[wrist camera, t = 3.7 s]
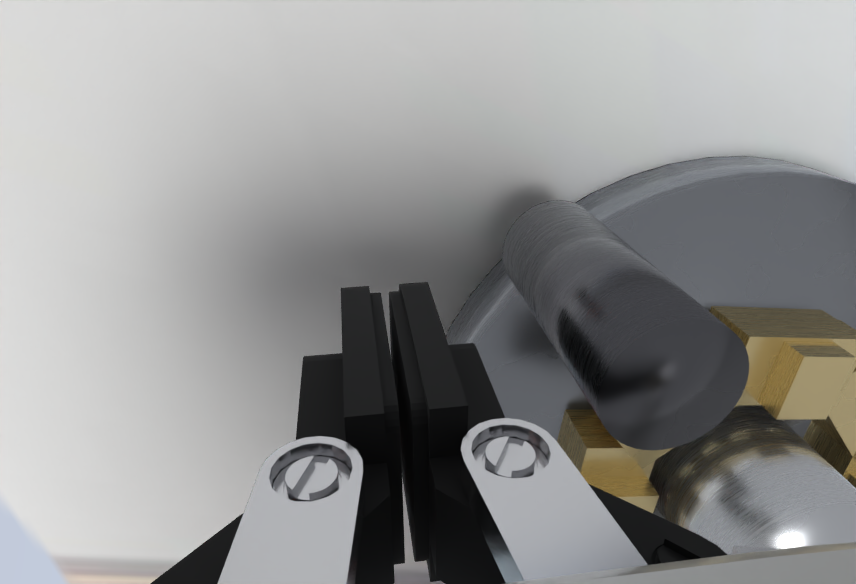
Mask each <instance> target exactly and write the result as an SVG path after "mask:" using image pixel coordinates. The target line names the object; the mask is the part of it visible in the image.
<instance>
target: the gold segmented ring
mask: <svg viewBox="0 0 856 584" xmlns="http://www.w3.org/2000/svg"><path fill="white" fill-rule="evenodd" d="M503 263H504V267H505V270H506V272H507V274H508V276H509V277H510V279H511V280H512V282H513V284H514V285H515V287H516V288H517V290H518V291H519V293H520V295H521V296H522V298H523V299H524V301H525V302H526V304H527V306H528V307H529V309H530V310H531V312H532V313H533V315H534V317H535V318H536V320H537V321H538V323H539V324H540V326H541V328H542V329H543V331H544V332H545V334H546V336H547V337H548V339H549V340H550V342H551V343H552V345H553V347H554V348H555V350H556V351H557V353H558V354H559V356H560V358H561V359H562V361H563V362H564V364H565V365H566V367H567V369H568V370H569V372H570V373H571V375H572V376H573V378H574V380H575V381H576V383H577V384H578V386H579V388H580V389H581V391H582V392H583V394H584V395H585V397H586V399H587V400H588V402H589V403H590V405H591V406H592V408H593V409H565V412H564V416H563V420H562V424H561V428H560V432H559V436H558V440H557V442H558V444H559V445H560V447H561V448H562V449H563V451H564V452H565V453H566V455H567V456H568V457H569V459H570V460H571V461H572V463H573V464H574V465H575V467H576V468H577V469H578V471H579V472H580V474H581V475H582V476H583V478H584V479H585V480H586V482H587V483H588V484H590V485H592V486H594V487H597V488H599V489H601V490H603V491H605V492H607V493H610V494H612V495H614V496H616V497H618V498H620V499H623V500H625V501H627V502H629V503H631V504H633V505H636V506H638V507H640V508H642V509H644V510H646V511H648V512H651V513H653V512H654V509H655V506H656V504H657V501H658V498H659V495H658V493H657V492H656V490H655V489H654V487H653V485H652V484H651V482H650V481H649V477H650V474H651V471H652V468H653V466H654V463H655V460H656V459H658V458H659V457H661V456H662V455H664V454H665V453H667V452H668V451H670V450H671V449H673V448H674V447H678V446H681V445H684V444H686V443H689V442H691V441H693V440H695V439H697V438H699V437H701V436H703V435H704V434H706V433H708V432H709V431H710V430H712V429H713V428H714V427H716V426H717V425H718V424H719V423H720V422H721V421H723V420H724V419H725V417H726V416H727V415H728V414H729V413H730V412H731V411H732V409H733V408H735V407H736V406H738V405H762V406H763V407H764V408H765V409H766V410H767V411H768V412H769V413H770V414H771V415H772V416H773V417H774V418H775V419H776V420H787V419H811V423H810V425H809V427H808V429H807V431H806V433H805V435H804V437H803V439H804V440H805V441H806V442H807V443H808V444H809V445H810V446H811V447H812V448H813V449H814V450H815V451H816V452H818V453H819V454H820V455H821V456H822V457H823V458H824V459H825V460H826V461H827V462H828V463H829V464H830V465H831V466H833V467H834V468H835V469H836V470H837V471H838V472H839V473H840V474H841V475H842V476H843V477H844V478H845V479H846V480H848V481H849V482H850V483H851V484H852V485H853V486H854V487H855V488H856V330H855V329H854V328H852V327H850V326H849V325H847V324H846V323H844V322H843V321H841V320H837V319H836V318H834V317H833V316H831V315H829V314H828V313H826V312H825V311H823V310H819V309H789V308H759V307H730V306H711V309H710V312H709V311H708V310H707V309H706V308H704V307H703V306H702V305H701V304H700V303H698V302H697V301H696V300H695V299H693V298H692V297H691V296H690V295H689V294H687V293H686V292H685V291H684V290H683V289H681V288H680V287H679V286H678V285H677V284H675V283H674V282H673V281H672V280H671V279H669V278H668V277H667V276H666V275H664V274H663V273H662V272H661V271H660V270H658V269H657V268H656V267H655V266H654V265H652V264H651V263H650V262H649V261H648V260H646V259H645V258H644V257H643V256H642V255H640V254H639V253H638V252H637V251H635V250H634V249H633V248H632V247H631V246H629V245H628V244H627V243H626V242H625V241H623V240H622V239H621V238H620V237H619V236H617V235H616V234H615V233H614V232H613V231H611V230H610V229H609V228H608V227H606V226H605V225H604V224H603V223H602V222H600V221H599V220H598V219H597V218H596V217H594V216H593V215H592V214H591V213H590V212H588V211H587V210H586V209H585V208H583V207H582V206H580V205H578V204H576V203H573V202H569V201H562V200H555V201H548V202H544V203H541V204H539V205H536V206H534V207H532V208H530V209H529V210H527V211H526V212H525V213H523V214H522V215H521V216H520V217H519V218H518V219H517V220H516V221H515V222H514V224H513V225H512V227H511V228H510V230H509V232H508V234H507V236H506V239H505V242H504V246H503Z"/></svg>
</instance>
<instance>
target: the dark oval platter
mask: <svg viewBox="0 0 856 584" xmlns="http://www.w3.org/2000/svg"><path fill="white" fill-rule="evenodd" d="M576 204H578V205H580V206H582V207H583V208H585V209H586V210H587V211H588V212H590V213H591V214H592V215H593V216H594V217H596V218H597V219H598V220H599V221H600V222H602V223H603V224H604V225H605V226H606V227H608V228H609V229H610V230H611V231H613V232H614V233H615V234H616V235H617V236H619V237H620V238H621V239H622V240H623V241H625V242H626V243H627V244H628V245H629V246H631V247H632V248H633V249H634V250H635V251H637V252H638V253H639V254H640V255H642V256H643V257H644V258H645V259H646V260H648V261H649V262H650V263H651V264H652V265H654V266H655V267H656V268H657V269H658V270H660V271H661V272H662V273H663V274H664V275H666V276H667V277H668V278H669V279H671V280H672V281H673V282H674V283H675V284H677V285H678V286H679V287H680V288H681V289H683V290H684V291H685V292H686V293H687V294H689V295H690V296H691V297H692V298H693V299H695V300H696V301H697V302H698V303H700V304H701V305H702V306H703V307H704V308H706V309H707V310H708V311H709V312H710V309H711V306H730V307H759V308H789V309H819V310H823V311H825V312H826V313H828V314H829V315H831V316H833V317H834V318H836V319H837V320H841V321H843V322H844V323H846V324H847V325H849V326H850V327H852V328H854V329H855V330H856V184H855V183H852V182H849V181H846V180H844V179H841V178H838V177H835V176H832V175H829V174H826V173H823V172H821V171H818V170H815V169H812V168H808V167H804V166H801V165H797V164H794V163H790V162H786V161H783V160H776V159H767V158H757V157H748V156H739V157H712V158H703V159H698V160H692V161H686V162H680V163H675V164H669V165H666V166H663V167H659V168H656V169H653V170H650V171H646V172H643V173H640V174H636V175H633V176H630V177H628V178H626V179H623V180H621V181H619V182H617V183H614V184H612V185H610V186H607V187H605V188H603V189H601V190H598V191H596V192H594V193H592V194H590V195H588V196H587V197H585V198H583V199H582V200H580V201H578V202H577V203H576ZM446 339H447V342H448V345H452V344H465V343H474V344H475V346H476V348H477V350H478V352H479V355H480V357H481V360H482V362H483V365H484V367H485V369H486V372H487V374H488V377H489V379H490V382H491V384H492V387H493V389H494V391H495V394H496V396H497V399H498V401H499V404H500V406H501V408H502V411H503V413H504V416H505V418H510V419H519V420H523V421H526V422H530V423H533V424H535V425H537V426H539V427H540V428H542V429H544V430H546V431H547V432H548V433H549V434H550V435H551V436H552V437H553V438H554V439H555V440H556V441H557V440H558V436H559V432H560V428H561V424H562V420H563V416H564V412H565V409H593V408H592V406H591V405H590V403H589V402H588V400H587V399H586V397H585V395H584V394H583V392H582V391H581V389H580V388H579V386H578V384H577V383H576V381H575V380H574V378H573V376H572V375H571V373H570V372H569V370H568V369H567V367H566V365H565V364H564V362H563V361H562V359H561V358H560V356H559V354H558V353H557V351H556V350H555V348H554V347H553V345H552V343H551V342H550V340H549V339H548V337H547V336H546V334H545V332H544V331H543V329H542V328H541V326H540V324H539V323H538V321H537V320H536V318H535V317H534V315H533V313H532V312H531V310H530V309H529V307H528V306H527V304H526V302H525V301H524V299H523V298H522V296H521V295H520V293H519V291H518V290H517V288H516V287H515V285H514V284H513V282H512V280H511V279H510V277H509V276H508V274H507V272H506V270H505V267H504V263H503V259H502V260H501V261H500V262H499V263H498V264H497V265H496V266H495V267H494V268H493V269H492V270H491V271H490V273H489V274H488V275H487V276H486V277H485V279H484V280H483V281H482V282H481V284H480V285H479V286H478V287H477V288H476V290H475V291H474V292H473V293H472V294H471V296H470V297H469V299H468V300H467V302H466V303H465V305H464V306H463V308H462V309H461V311H460V313H459V314H458V316H457V317H456V319H455V320H454V322H453V323H452V325H451V327H450V329H449V331H448V333H447V335H446ZM810 423H811V419H787V420H776V419H775V418H774V417H773V416H772V415H771V414H770V413H769V412H768V411H767V410H766V409H765V408H764V407H763V406H762V405H738V406H736V407H735V408H733V409H732V411H731V412H730V413H729V414H728V415H727V416H726V417H725V419H724V420H723V421H721V422H720V423H719V424H718V425H717V426H716V427H714V428H713V429H712V430H710V431H709V432H708V433H706V434H704V435H703V436H701V437H699V438H697V439H695V440H693V441H691V442H689V443H686V444H684V445H681V446H678V447H674V448H673V449H671V450H670V451H668V452H667V453H665V454H664V455H662V456H661V457H659V458H658V459H656V460H655V463H654V466H653V468H652V471H651V474H650V477H649V481H650V482H651V484H652V485H653V487H654V489H655V490H656V492H657V493H658V495H659V498H658V501H657V504H656V506H655V509H654V512H653V514H655V515H657V516H659V517H661V518H664V519H666V520H668V521H670V522H672V523H674V524H677V525H679V526H681V527H683V528H685V529H687V530H690V531H692V532H694V533H696V534H698V535H700V536H702V537H704V538H705V539H707V540H709V541H711V542H712V543H714V544H716V545H717V546H718V547H720V548H721V549H722V550H723V551H724V552H725V553H726V554H731V553H732V550H733V547H734V545H736V546H749V547H762V548H775V549H786V548H794V547H803V546H814V545H824V544H839V543H850V542H856V488H855V487H854V486H853V485H852V484H851V483H850V482H849V481H848V480H846V479H845V478H844V477H843V476H842V475H841V474H840V473H839V472H838V471H837V470H836V469H835V468H834V467H833V466H831V465H830V464H829V463H828V462H827V461H826V460H825V459H824V458H823V457H822V456H821V455H820V454H819V453H818V452H816V451H815V450H814V449H813V448H812V447H811V446H810V445H809V444H808V443H807V442H806V441H805V440H804V439H803V437H804V435H805V433H806V431H807V429H808V427H809V425H810Z"/></svg>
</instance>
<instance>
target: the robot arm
mask: <svg viewBox="0 0 856 584" xmlns="http://www.w3.org/2000/svg"><path fill="white" fill-rule="evenodd" d="M389 310H390V335H391V355H390V349H389V343H388V336H387V330H386V324H385V318H384V311H383V305H382V299H381V293H370V290H369V286H363V287H348V288H341V312H342V353H340V354H328V355H315V356H304V357H303V365H302V377H301V388H300V399H299V411H298V422H297V434H296V440H295V441H292V442H289V443H288V444H286V445H284V446H282V447H280V448H278V449H277V450H276V451H274V452H273V453H272V454H271V455H270V456H269V457H268V458H267V459H266V460H265V462H264V463H263V465H262V467H261V468H260V470H259V473H258V475H257V478H256V481H255V484H254V486H253V489H252V492H251V494H250V497H249V500H248V502H247V505H246V508H245V511H244V513H243V514H241V515H240V516H239V517H237V518H236V519H235V520H234V521H232V522H231V523H230V524H228V525H227V526H226V527H224V528H223V529H222V530H220V531H219V532H218V533H216V534H215V535H214V536H213V537H211V538H210V539H209V540H207V541H206V542H205V543H203V544H202V545H201V546H199V547H198V548H197V549H195V550H194V551H193V552H191V553H190V554H189V555H188V556H186V557H185V558H184V559H182V560H181V561H180V562H178V563H177V564H176V565H174V566H173V567H172V568H170V569H169V570H168V571H166V572H165V573H164V574H163V575H161V576H160V577H159V578H157V579H156V580H155V581H153V582H152V583H151V584H394V564H401V563H405V554H404V525H403V495H402V477H403V484H404V491H405V498H406V505H407V512H408V519H409V525H410V532H411V539H412V546H413V553H414V559H415V562H417V561H425V560H427V564H428V570H429V577H430V582H433V581H442V582H444V583H446V584H856V542H850V543H839V544H824V545H814V546H803V547H794V548H786V549H775V548H762V547H749V546H736V545H734V547H733V550H732V553H731V554H726V553H725V552H724V551H723V550H722V549H721V548H720V547H718V546H717V545H716V544H714V543H712V542H711V541H709V540H707V539H705V538H704V537H702V536H700V535H698V534H696V533H694V532H692V531H690V530H687V529H685V528H683V527H681V526H679V525H677V524H674V523H672V522H670V521H668V520H666V519H664V518H661V517H659V516H657V515H655V514H653V513H651V512H648V511H646V510H644V509H642V508H640V507H638V506H636V505H633V504H631V503H629V502H627V501H625V500H623V499H620V498H618V497H616V496H614V495H612V494H610V493H607V492H605V491H603V490H601V489H599V488H597V487H594V486H592V485H590V484H588V483H587V482H586V480H585V479H584V478H583V476H582V475H581V474H580V472H579V471H578V469H577V468H576V467H575V465H574V464H573V463H572V461H571V460H570V459H569V457H568V456H567V455H566V453H565V452H564V451H563V449H562V448H561V447H560V445H559V444H558V442H557V441H556V440H555V439H554V438H553V437H552V436H551V435H550V434H549V433H548V432H547V431H546V430H544V429H542V428H540V427H539V426H537V425H535V424H533V423H530V422H526V421H523V420H519V419H510V418H505V416H504V413H503V411H502V408H501V406H500V404H499V401H498V399H497V396H496V394H495V391H494V389H493V387H492V384H491V382H490V379H489V377H488V374H487V372H486V369H485V367H484V365H483V362H482V360H481V357H480V355H479V352H478V350H477V348H476V346H475V344H474V343H465V344H452V345H448V342H447V339H446V336H445V333H444V330H443V327H442V324H441V321H440V318H439V315H438V312H437V309H436V306H435V303H434V300H433V297H432V294H431V291H430V288H429V285H428V283H427V282H423V283H408V284H399V291H398V292H389ZM391 361H392V362H391Z"/></svg>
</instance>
